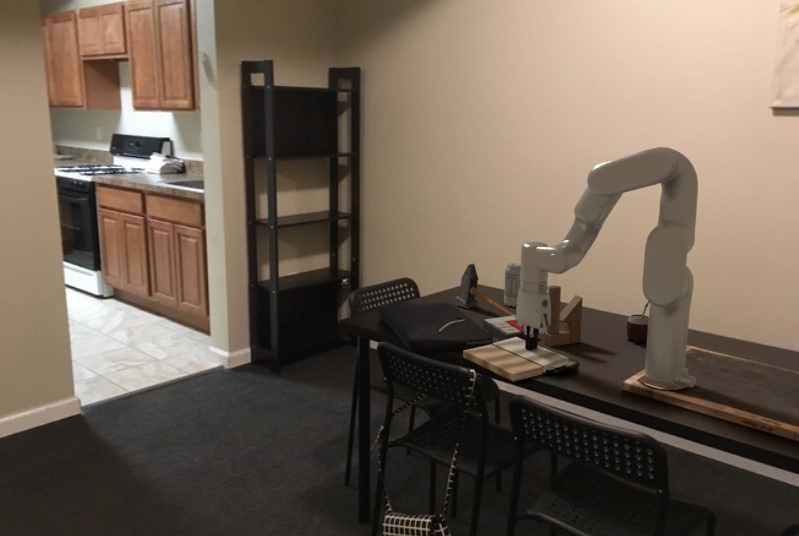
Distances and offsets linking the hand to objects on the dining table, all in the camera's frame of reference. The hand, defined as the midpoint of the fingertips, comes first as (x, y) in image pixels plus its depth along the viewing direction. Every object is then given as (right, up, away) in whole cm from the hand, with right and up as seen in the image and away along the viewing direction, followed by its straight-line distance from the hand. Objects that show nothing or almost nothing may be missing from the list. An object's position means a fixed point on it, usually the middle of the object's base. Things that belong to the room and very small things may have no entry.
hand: (531, 348), depth 200 cm
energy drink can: (+3, +9, +54) cm, 55 cm away
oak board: (-9, -4, -6) cm, 12 cm away
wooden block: (+12, 0, +12) cm, 17 cm away
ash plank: (-1, -2, -1) cm, 3 cm away
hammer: (-6, +7, +44) cm, 45 cm away
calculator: (-3, +1, +21) cm, 22 cm away
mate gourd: (+35, 0, +12) cm, 37 cm away
